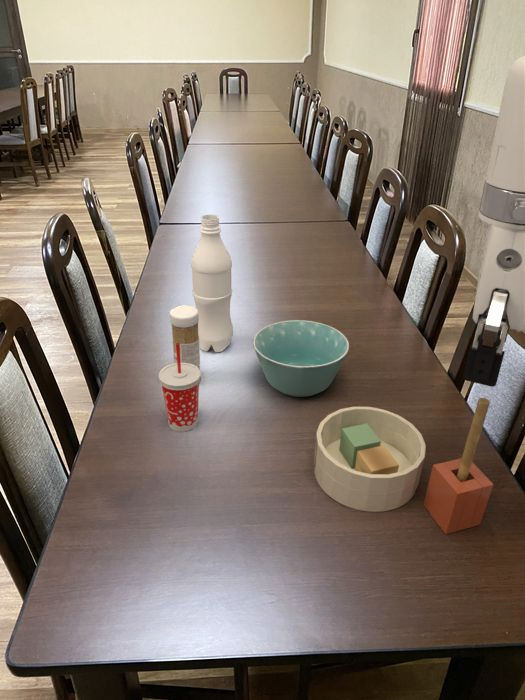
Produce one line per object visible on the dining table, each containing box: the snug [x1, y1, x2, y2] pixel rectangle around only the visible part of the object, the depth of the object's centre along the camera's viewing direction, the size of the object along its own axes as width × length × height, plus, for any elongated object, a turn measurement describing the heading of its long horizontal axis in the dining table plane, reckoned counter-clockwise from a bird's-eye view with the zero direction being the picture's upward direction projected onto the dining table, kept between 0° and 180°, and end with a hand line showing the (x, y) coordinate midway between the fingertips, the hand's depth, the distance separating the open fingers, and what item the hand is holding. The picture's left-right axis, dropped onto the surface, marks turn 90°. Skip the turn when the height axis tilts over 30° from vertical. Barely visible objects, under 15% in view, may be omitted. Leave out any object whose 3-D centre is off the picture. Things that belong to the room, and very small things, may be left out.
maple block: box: [355, 445, 399, 475], centre depth 71 cm, size 4×4×4 cm
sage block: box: [339, 424, 381, 469], centre depth 75 cm, size 4×4×4 cm
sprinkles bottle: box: [169, 304, 202, 383], centre depth 89 cm, size 5×5×13 cm
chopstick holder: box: [423, 457, 494, 535], centre depth 66 cm, size 5×5×7 cm
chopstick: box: [457, 397, 491, 482], centre depth 64 cm, size 1×1×18 cm
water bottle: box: [190, 214, 234, 353], centre depth 96 cm, size 7×7×25 cm
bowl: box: [252, 319, 350, 398], centre depth 91 cm, size 16×16×8 cm
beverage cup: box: [158, 343, 202, 432], centre depth 79 cm, size 6×6×14 cm
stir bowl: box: [313, 406, 427, 513], centre depth 73 cm, size 14×14×6 cm
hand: (485, 359), depth 59 cm, fingers open, 9 cm apart
